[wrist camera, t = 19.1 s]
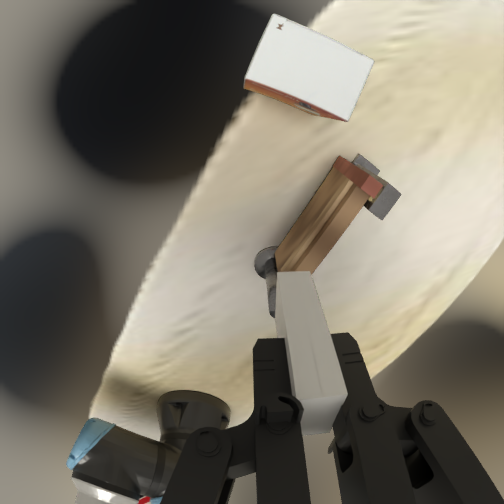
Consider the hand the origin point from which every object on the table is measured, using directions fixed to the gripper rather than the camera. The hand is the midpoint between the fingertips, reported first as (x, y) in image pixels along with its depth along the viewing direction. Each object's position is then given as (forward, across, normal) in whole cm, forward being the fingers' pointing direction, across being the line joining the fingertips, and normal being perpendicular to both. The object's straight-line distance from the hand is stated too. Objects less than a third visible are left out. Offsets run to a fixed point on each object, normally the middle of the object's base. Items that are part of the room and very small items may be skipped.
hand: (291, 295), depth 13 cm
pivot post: (+19, +1, -10) cm, 22 cm away
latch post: (+19, +10, +1) cm, 22 cm away
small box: (+20, +2, +11) cm, 23 cm away
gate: (+19, +5, -3) cm, 20 cm away
